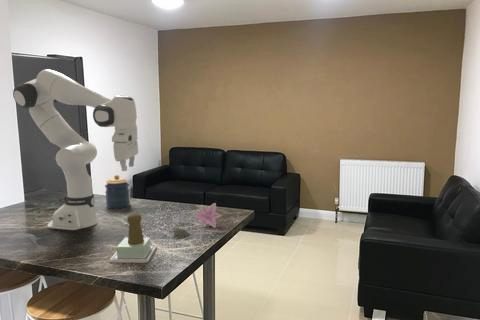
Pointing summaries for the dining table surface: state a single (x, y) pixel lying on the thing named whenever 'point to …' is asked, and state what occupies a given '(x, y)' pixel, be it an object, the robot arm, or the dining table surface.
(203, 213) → the lily
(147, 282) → the dining table surface
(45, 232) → the dining table surface
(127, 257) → the butter dish
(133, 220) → the cork
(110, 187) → the canister
